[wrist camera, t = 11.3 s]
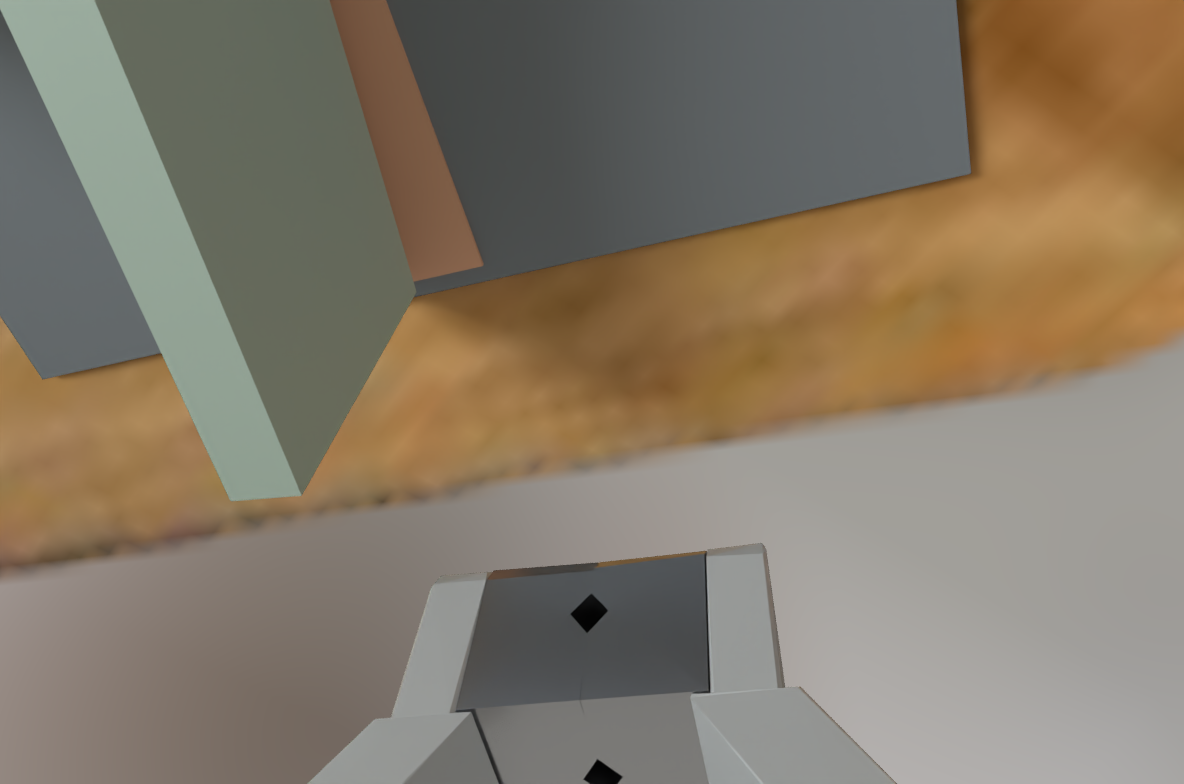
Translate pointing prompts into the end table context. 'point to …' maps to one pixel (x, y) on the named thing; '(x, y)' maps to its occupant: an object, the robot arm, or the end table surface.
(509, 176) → the card
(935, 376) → the end table surface
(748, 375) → the end table surface
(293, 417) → the fence gate
